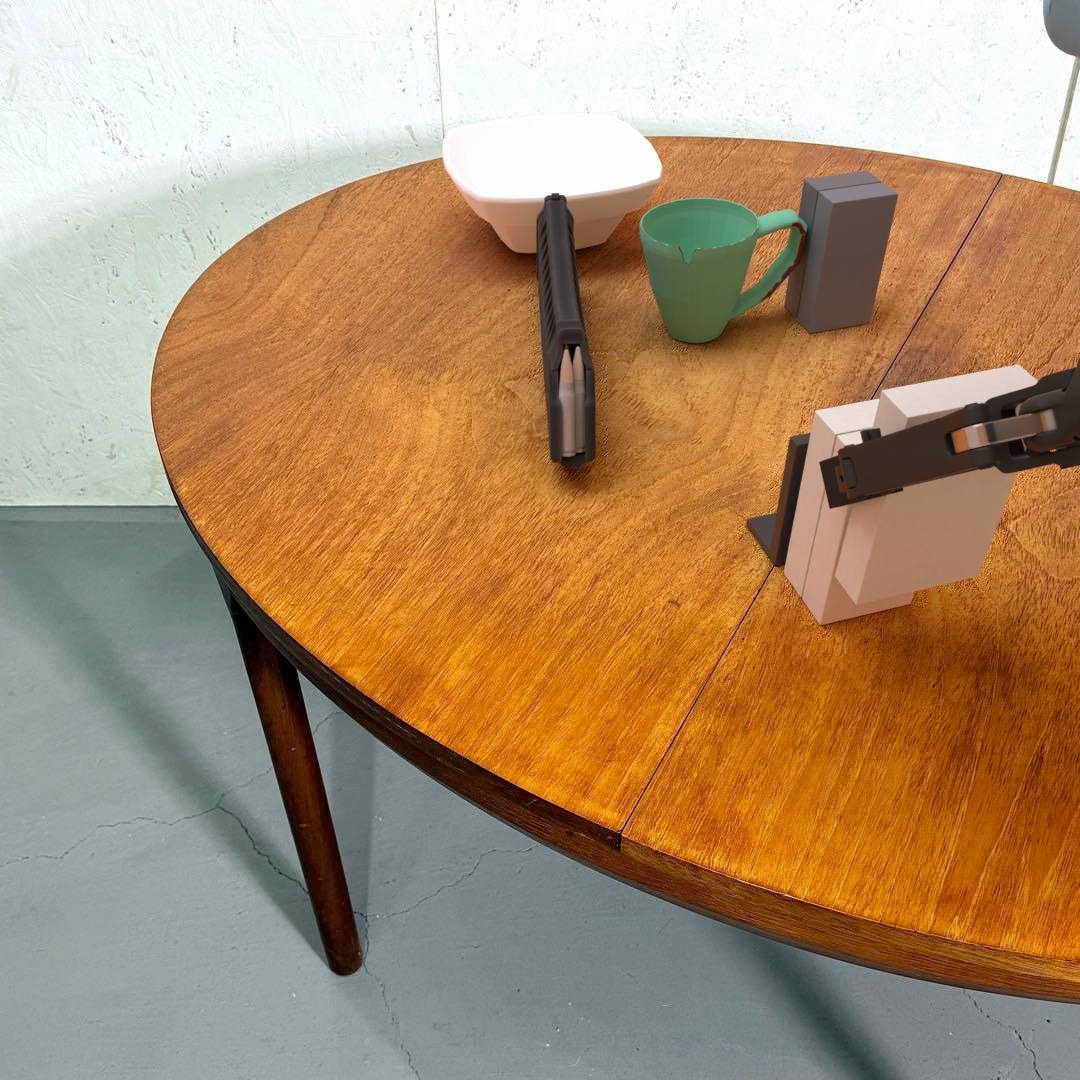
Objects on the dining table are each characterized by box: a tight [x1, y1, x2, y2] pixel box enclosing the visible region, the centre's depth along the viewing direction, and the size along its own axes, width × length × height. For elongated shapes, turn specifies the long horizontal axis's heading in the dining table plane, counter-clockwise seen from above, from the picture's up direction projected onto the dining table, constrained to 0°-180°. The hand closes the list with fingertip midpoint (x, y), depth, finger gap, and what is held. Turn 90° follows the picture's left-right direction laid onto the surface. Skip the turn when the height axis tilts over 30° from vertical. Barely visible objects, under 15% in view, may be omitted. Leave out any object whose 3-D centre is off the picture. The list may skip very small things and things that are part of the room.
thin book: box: [835, 364, 1039, 605], centre depth 58 cm, size 8×2×13 cm, turn 107°
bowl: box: [441, 113, 664, 254], centre depth 106 cm, size 21×21×9 cm
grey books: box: [783, 170, 899, 334], centre depth 92 cm, size 6×5×12 cm
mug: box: [639, 197, 807, 344], centre depth 91 cm, size 15×10×10 cm
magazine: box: [535, 193, 597, 469], centre depth 86 cm, size 17×3×30 cm
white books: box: [745, 397, 916, 626], centre depth 67 cm, size 7×10×13 cm
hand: (899, 469), depth 60 cm, fingers closed on thin book, 8 cm apart
